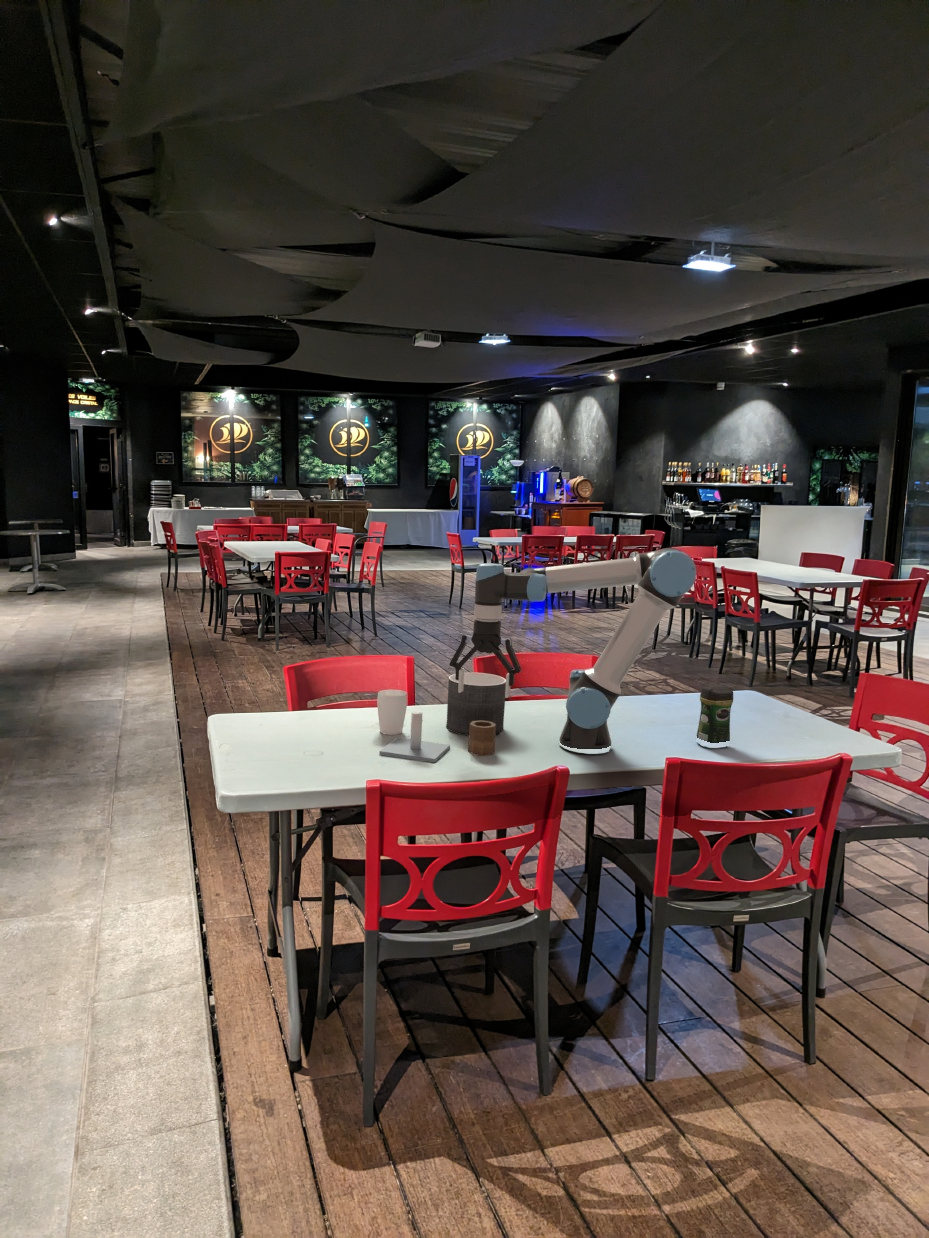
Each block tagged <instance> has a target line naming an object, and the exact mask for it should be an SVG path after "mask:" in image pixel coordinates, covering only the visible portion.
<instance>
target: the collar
mask: <svg viewBox="0 0 929 1238" xmlns="http://www.w3.org/2000/svg"><path fill="white" fill-rule="evenodd" d="M496 735H497V734H496V724H495V723H493V722H490V721H482V720H480V721H472V722H471V723H470V725H469V735H468V745H467V746H468V747H467V751H468V752H469V753H470V754H472V755H476V756H489V755H493V754H494V753H495V751H496V750H495V749H496Z"/></svg>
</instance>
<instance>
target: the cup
mask: <svg viewBox="0 0 929 1238" xmlns="http://www.w3.org/2000/svg"><path fill="white" fill-rule="evenodd" d="M376 705H377V706H376V707H377V717H378V723H379V724H378V725H379V732H380V733H381V734H384V735H387V736H389V735H391V736H392V735H393V736H396V735H400V734H402V733H403V729H404V723H405V719H406V713H407V708H408V692H407V691H404V690H401V689H383V690H379V691H377V700H376Z"/></svg>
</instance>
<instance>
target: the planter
mask: <svg viewBox="0 0 929 1238" xmlns="http://www.w3.org/2000/svg"><path fill="white" fill-rule="evenodd" d="M455 676H456V673H454V674H451V675H449V676H448V679H447V680H448V685H447V703H446V704H447V707H446V711H447V712H446V729H447V730H448V731H451V732H452V733H455V734H459V735H463V736H469V725H470V723H471V722H472V721H480V720H482V721H490V722H493V723H495V724H496V735H499V734H501V733H502V732H504V721H505V707H506V698H505V690H506V677H505V678H504V677H502V676H500V675H496V674H491V673H485V672H464V687H463V691H462V692H461V693H458V683H459V680H456V678H455Z"/></svg>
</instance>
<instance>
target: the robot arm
mask: <svg viewBox="0 0 929 1238" xmlns="http://www.w3.org/2000/svg"><path fill="white" fill-rule="evenodd" d="M696 567H697V566H696V564H695V562H694V560H693V559H692V557H691V556H690V555H689V554H687V553H686V552H685V551H682V550H681V549H678V548H675V547H666V548H662V549H657V550H654V551H648V552H640V553H636V555H635V556H634V557H628V558H627V557H626V558H618V559H610V560H602V561H601V560H600V561H591V562H583V563H573V564H564V565H563V564H562V565H555V566H554V565H553V566H547V567H537V568H535V567H527V568H524V569H522V570H520V572H510V571H505V567H504V565H503V564H501V563H494V562H493V563H490V562H489V563H487V562H486V563H480V564H478V565H477V567H476V575H475V580H474V581H475V583H474V584H475V585H474V588H475V593H474V613H473V617H474V620H473V633H472V635H469V634H467V633H465V634H463V635H462V636H461V638H460V640H461V641H460V644H459V645H458V647H457V649H456V651H455V652H454V655H453V657H452V658H451V660H450V662H449V667H452V668H454V669H455V674H456V676H455V678H456V680H459V683H458V693H461V692H462V691H463V687H464V673H465V668H464V667H463V666H464V665H465V664H466V663H467V662H468V661H469V660H470V659H471V658H472V656H474V654H475V653H476V652H479V653H480V654H483V653H485V654H492V653H493V654H494V656H495V657H497V659H498V660H499V662H500V663H501V665H502V666H503V667H504V669H505V670H506V671H507V673H506V675H505V679H506V690H505V699H508V698H509V697H511V687H512V686H514V685H515V677H516V674H519V673H520V672H522V671H523V669H522V667H521V665H520V662H519V660H518V657H517V655H516V653H515V650H514V647H513V644H512V643H513V641H512V638H511V637H508V638H501V628H502V622H501V619H502V607H503V600H512V601H513V600H515V601H526V602H534V603H535V602H544V601H545V599H546V597H547V594H554V593H562V592H572V591H583V590H584V591H585V590H592V589H593V590H595V589H603V588H604V589H605V588H613V587H624V586H634V585H637V588H638V589H637V590H638V595H637V596H636V598H635V600H634V601H633V603H632V604H631V606H630V608H629V609H628V611H627V612H626V614H625V615H624V617H623V619H622V620H621V622H620V623H619V625H618V626H617V628H616V630H615V631H614V633H613V634H612V636H611V638H610V640H609V641H608V642H607V645H606V646H605V647H604V649H603V650H602V653H601V654H600V656H598V658H597V660H596V662H595V664H594V665H593V666H592V667H590V668H586V669H573V670H571V671H570V674H569V675H570V676H569V678H568V680H569V685H568V694H567V699H566V703H565V708H566V712H567V714H566V715H567V716H566V721H565V723H564V726H563V728H562V731H561V734H560V735H559V741H560V743H561V744H562V745H564V746H567V747H570V748H577V749H602V748H607V747H609V746H611V747H612V739H611V735H610V731H609V726H608V719H609V717H610V715H611V710H612V708H613V707H614V705H615V703H616V701H618V699H619V697H620V695H621V693H622V689H621V683H622V682H623V680H624V678H625V677H626V675H627V674H628V672H629V671H630V669H631V668H632V666H633V665H634V663H635V661H636V660H637V658H638V656H639V655H640V654H641V651H643V648H644V647H645V646H646V644H647V642H648V641H649V640H650V638H651V636H652V635H653V633H654V632H655V630H656V628H657V626H659V623H660V622H661V620H662V618H663V617H664V616H665V615H666V612H667V611H668V610H671V609H675V608H677V606H678V604H679V603H680V601H681V600H682V598H683V597H684V596H685V594H686V593H688V592H689V591H690V590H691V589H692V587H693V586H694V584H695V582H696V579H697V568H696ZM470 642H472V644H473V645H474V646H473V647H472V648H471V649H470V650H469V651H468V652H467V653H466V654H465V655H464V657H463V658H462V659H461V660H459V659H460V657H461V655H462V653H463V652H464V650H465V648H466V646H467V644H468V643H470ZM501 644H502V646H503V647H505V650H506V652H507V655H508V657H509V660H510V661H509V660H508V658H507V657H506V656H505V655H504V653H503V652H502V649H501V647H500V645H501ZM458 661H459V662H458ZM510 662H511V663H512V664H511V663H510Z"/></svg>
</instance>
